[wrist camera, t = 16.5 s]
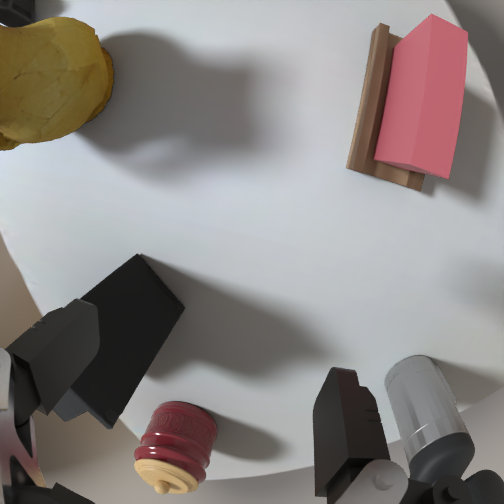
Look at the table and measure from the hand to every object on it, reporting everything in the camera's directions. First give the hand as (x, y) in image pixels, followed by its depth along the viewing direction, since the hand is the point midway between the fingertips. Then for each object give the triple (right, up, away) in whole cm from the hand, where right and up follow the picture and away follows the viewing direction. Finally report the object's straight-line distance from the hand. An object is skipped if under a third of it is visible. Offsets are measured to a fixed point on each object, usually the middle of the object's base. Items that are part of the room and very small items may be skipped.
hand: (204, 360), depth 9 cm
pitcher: (-25, +28, +26) cm, 45 cm away
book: (+19, +21, +21) cm, 35 cm away
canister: (-11, -30, +44) cm, 54 cm away
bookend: (-20, -7, +37) cm, 43 cm away
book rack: (+19, +21, +23) cm, 36 cm away
